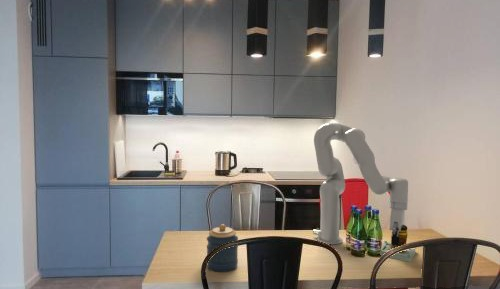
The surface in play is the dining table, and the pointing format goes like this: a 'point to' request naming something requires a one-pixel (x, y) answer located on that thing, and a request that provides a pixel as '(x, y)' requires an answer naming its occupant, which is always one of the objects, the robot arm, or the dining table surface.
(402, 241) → the condiment
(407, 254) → the socket plate
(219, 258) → the canister
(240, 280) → the dining table surface
